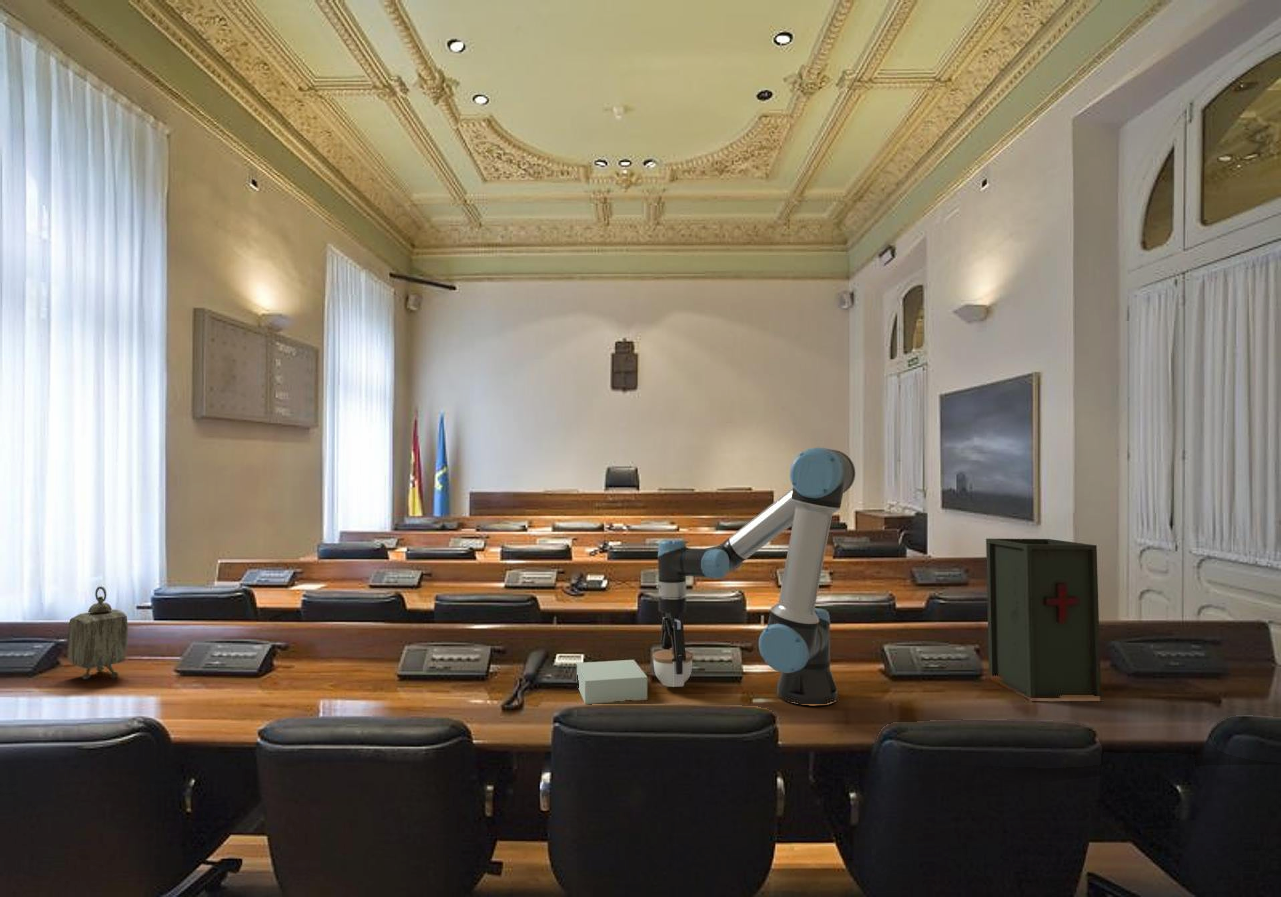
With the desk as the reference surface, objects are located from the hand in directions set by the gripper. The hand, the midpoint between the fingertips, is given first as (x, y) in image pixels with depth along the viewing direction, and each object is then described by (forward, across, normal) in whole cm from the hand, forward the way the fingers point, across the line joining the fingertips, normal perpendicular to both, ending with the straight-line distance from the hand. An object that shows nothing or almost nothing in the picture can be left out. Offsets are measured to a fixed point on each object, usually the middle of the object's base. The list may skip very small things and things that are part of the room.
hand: (672, 679), depth 169 cm
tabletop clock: (0, -37, -156) cm, 161 cm away
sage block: (+3, -1, -17) cm, 17 cm away
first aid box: (+4, +19, +99) cm, 101 cm away
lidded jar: (+1, 0, 0) cm, 1 cm away
